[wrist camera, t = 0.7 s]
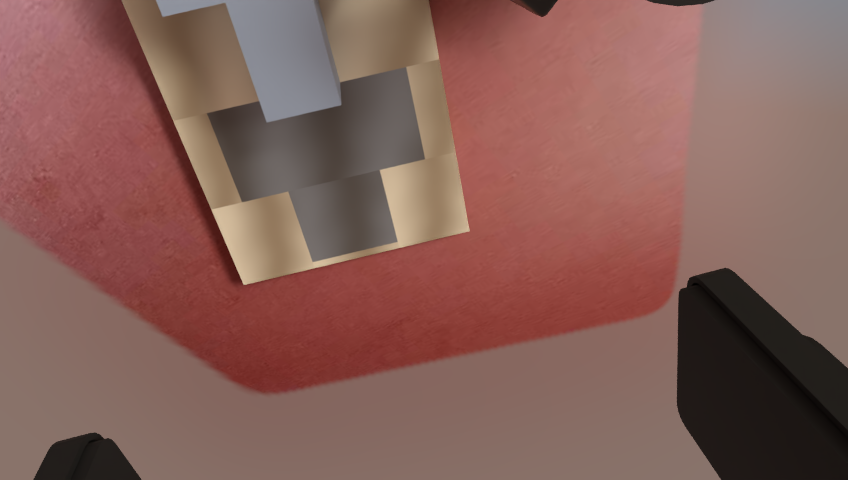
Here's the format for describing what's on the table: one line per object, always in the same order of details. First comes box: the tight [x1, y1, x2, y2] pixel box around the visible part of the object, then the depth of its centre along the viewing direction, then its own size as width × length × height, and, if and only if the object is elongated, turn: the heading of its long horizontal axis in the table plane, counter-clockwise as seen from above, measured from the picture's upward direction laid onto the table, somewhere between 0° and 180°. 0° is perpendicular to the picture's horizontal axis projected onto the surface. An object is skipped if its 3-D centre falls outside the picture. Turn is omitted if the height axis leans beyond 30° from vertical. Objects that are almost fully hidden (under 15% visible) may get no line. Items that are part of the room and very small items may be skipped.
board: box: [121, 0, 469, 285], centre depth 36 cm, size 16×23×1 cm
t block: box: [156, 0, 341, 122], centre depth 30 cm, size 10×10×4 cm
